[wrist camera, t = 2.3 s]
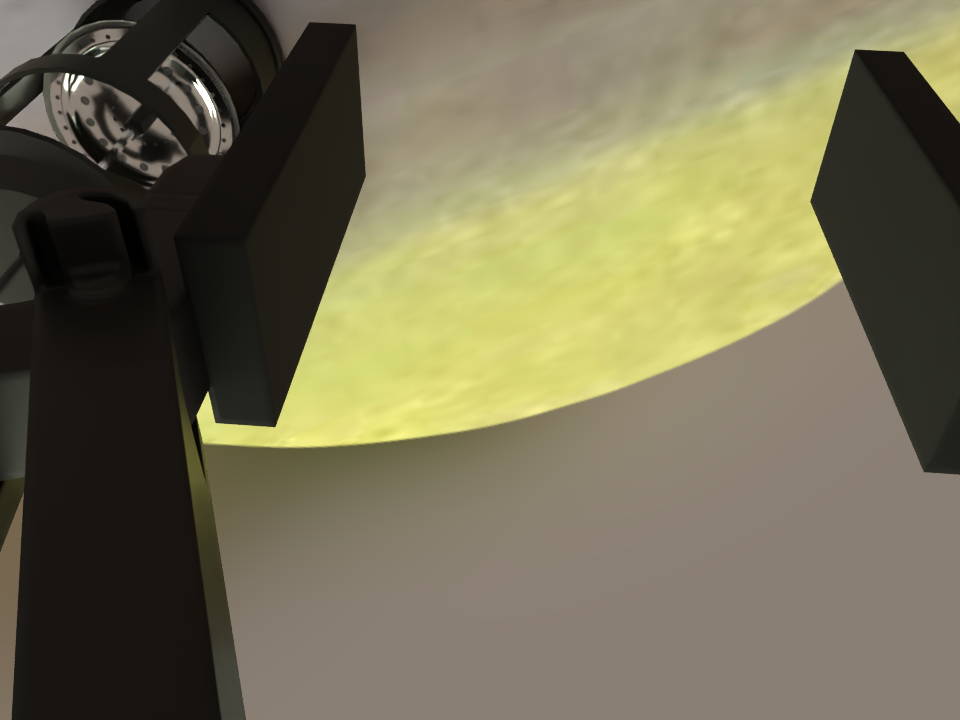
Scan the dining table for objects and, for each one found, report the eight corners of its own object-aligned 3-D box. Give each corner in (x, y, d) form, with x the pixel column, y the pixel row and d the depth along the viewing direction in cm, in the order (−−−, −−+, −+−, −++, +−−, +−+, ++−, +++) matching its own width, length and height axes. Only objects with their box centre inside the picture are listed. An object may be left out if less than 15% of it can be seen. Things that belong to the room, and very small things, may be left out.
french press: (114, -93, 39) (-258, 144, 21) (316, 5, 41) (129, 296, 24) (73, 130, 46) (-232, 446, 29) (247, 204, 48) (63, 542, 31)
